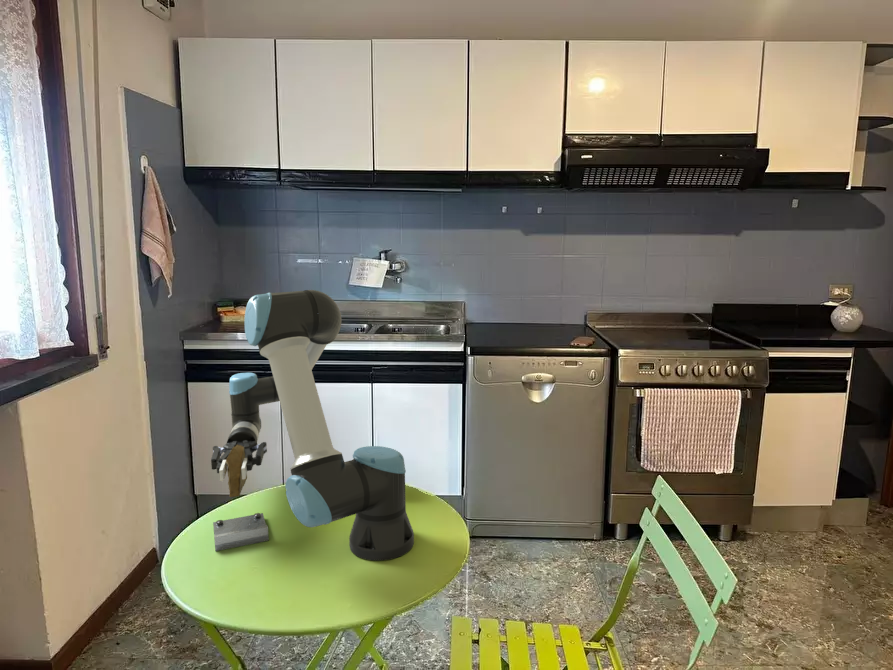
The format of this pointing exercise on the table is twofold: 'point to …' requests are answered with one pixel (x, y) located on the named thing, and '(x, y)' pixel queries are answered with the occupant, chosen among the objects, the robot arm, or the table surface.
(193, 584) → the table surface
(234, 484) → the rock
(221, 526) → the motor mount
